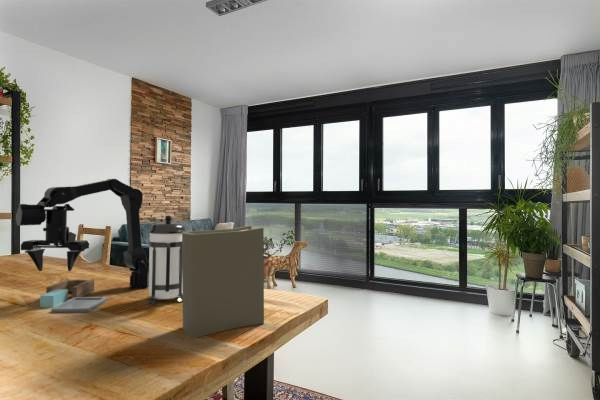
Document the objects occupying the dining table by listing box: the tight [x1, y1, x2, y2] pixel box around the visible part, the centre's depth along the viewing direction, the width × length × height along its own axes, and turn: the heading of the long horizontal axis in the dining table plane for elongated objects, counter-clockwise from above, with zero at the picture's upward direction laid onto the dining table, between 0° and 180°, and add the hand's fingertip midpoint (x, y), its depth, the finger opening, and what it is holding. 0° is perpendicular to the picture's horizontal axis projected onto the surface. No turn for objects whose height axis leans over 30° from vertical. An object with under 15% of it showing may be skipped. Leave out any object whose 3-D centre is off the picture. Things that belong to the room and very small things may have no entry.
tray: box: [50, 296, 109, 313], centre depth 113 cm, size 11×13×1 cm
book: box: [182, 225, 265, 339], centre depth 98 cm, size 22×9×28 cm, turn 124°
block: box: [39, 289, 69, 308], centre depth 115 cm, size 4×4×8 cm
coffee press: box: [148, 215, 188, 305], centre depth 122 cm, size 17×16×30 cm
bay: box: [45, 278, 95, 299], centre depth 125 cm, size 10×12×4 cm
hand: (55, 270), depth 115 cm, fingers open, 9 cm apart
